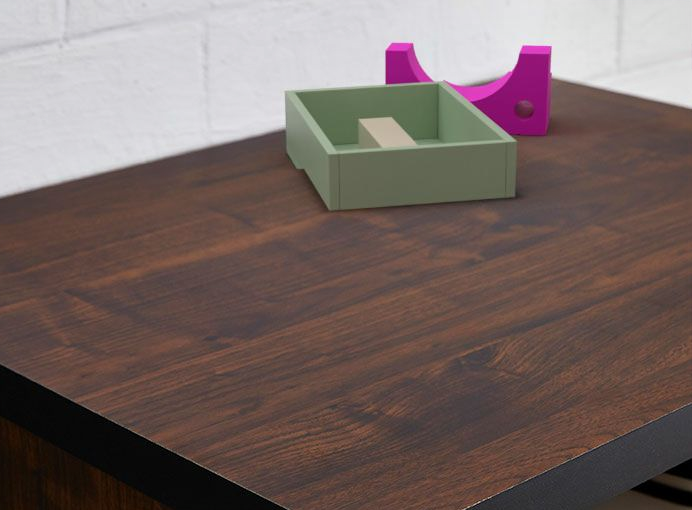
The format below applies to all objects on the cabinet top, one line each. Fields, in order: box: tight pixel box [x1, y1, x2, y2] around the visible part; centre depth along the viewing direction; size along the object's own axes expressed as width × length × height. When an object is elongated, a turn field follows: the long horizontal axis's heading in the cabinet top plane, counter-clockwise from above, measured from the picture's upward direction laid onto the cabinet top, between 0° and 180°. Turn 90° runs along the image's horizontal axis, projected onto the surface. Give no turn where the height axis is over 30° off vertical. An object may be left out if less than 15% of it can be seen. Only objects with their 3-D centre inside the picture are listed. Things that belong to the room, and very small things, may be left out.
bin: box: [284, 80, 518, 212], centre depth 115 cm, size 15×22×6 cm
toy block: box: [384, 42, 553, 137], centre depth 131 cm, size 15×6×8 cm, turn 78°
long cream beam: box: [358, 117, 417, 149], centre depth 115 cm, size 14×3×3 cm, turn 10°
